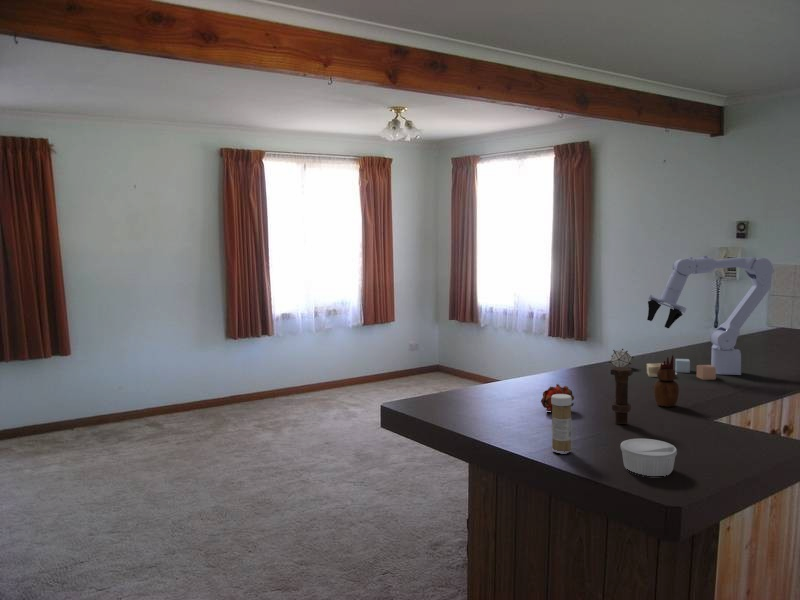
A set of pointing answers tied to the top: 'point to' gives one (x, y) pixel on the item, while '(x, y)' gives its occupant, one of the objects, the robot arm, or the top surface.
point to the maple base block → (653, 369)
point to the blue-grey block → (682, 365)
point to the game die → (621, 359)
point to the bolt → (621, 394)
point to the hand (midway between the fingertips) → (657, 324)
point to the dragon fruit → (552, 391)
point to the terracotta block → (706, 372)
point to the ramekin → (648, 456)
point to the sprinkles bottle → (561, 422)
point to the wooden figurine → (666, 385)
